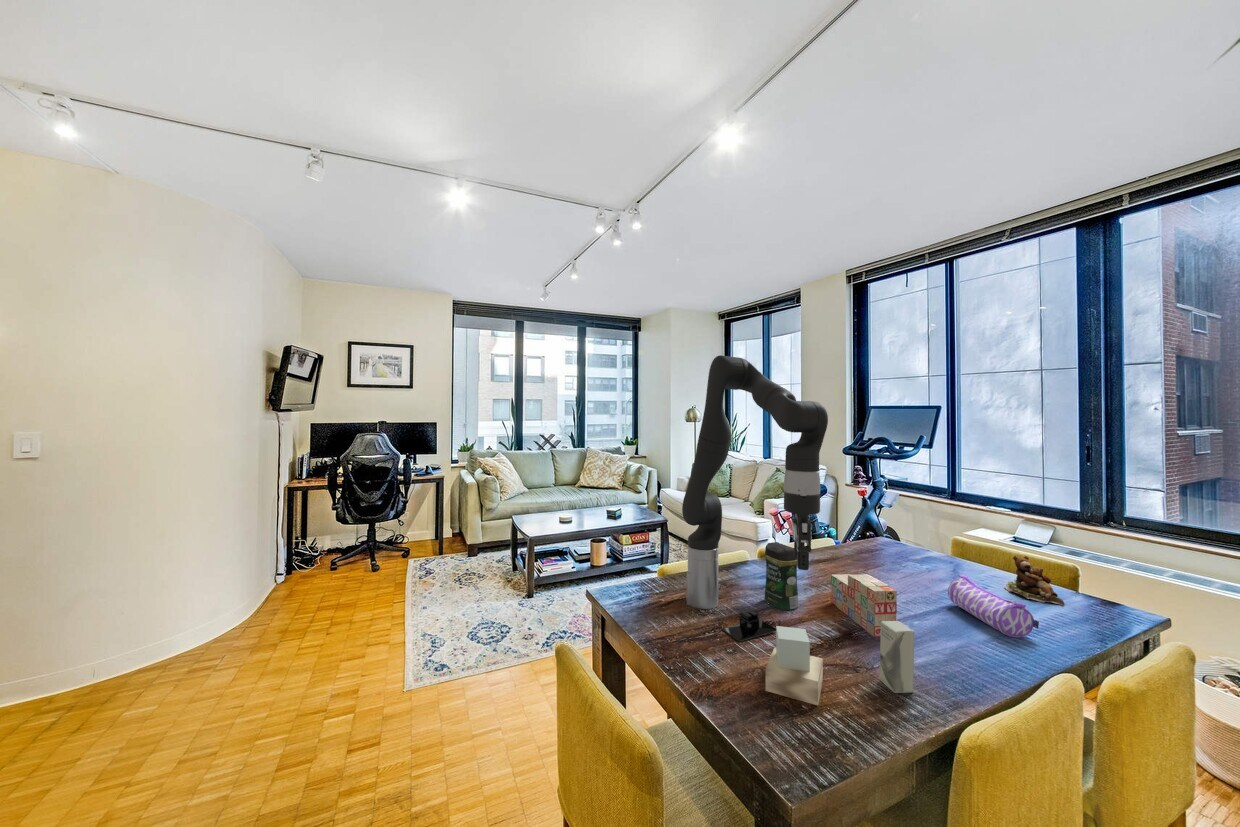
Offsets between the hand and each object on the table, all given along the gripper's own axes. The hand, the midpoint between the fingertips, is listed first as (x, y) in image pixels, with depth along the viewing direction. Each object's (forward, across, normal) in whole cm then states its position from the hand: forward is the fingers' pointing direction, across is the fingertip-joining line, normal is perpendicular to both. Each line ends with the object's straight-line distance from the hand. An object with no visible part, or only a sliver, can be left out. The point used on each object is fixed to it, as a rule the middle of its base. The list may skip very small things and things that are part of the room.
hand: (801, 563), depth 101 cm
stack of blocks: (+25, -34, +19) cm, 47 cm away
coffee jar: (+25, -38, -2) cm, 45 cm away
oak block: (+24, +6, -2) cm, 25 cm away
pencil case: (+24, -44, +53) cm, 73 cm away
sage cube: (+20, +5, -2) cm, 20 cm away
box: (+24, 0, +19) cm, 31 cm away
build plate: (+26, -17, -10) cm, 33 cm away
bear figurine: (+25, -70, +77) cm, 107 cm away
